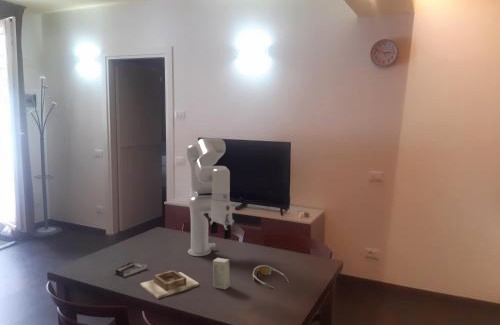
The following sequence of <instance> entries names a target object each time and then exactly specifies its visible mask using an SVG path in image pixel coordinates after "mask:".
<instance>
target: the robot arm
mask: <svg viewBox="0 0 500 325" xmlns="http://www.w3.org/2000/svg"><path fill="white" fill-rule="evenodd" d="M226 146H227V145H226V142H225V140H223V138H220V137H218V138H216V137H214V138H213V137H212V138H210V137H209V138H208V137H205V138H200V139H199V140H198V141H197V142H196V143H194V144H190V145H188V146H187V148H186V157H187V160H188V163H189V166H190V175H191V176H190V177H191V179H190V180H191V182H190V183H191V184H190V185H191V191H192V193H194V194H208V195H195V196H192V197H191V198H190V199H189V200H188V207H189V212H190V213H189V214H190V215H189V216H190V248H189V249H188V250H187V254H188V255H190V256H193V257H194V256H195V257H203V256H208V255H210V254H211V253H212V249H211V248H214V247H216V243H215V242H212V243H211V242H209V224H210V235H211V234H212V235H214V234H217V233H218V229H219V228H218V224H220V225H223V227H224V229H223V239H224V240H228V239H231V237H232V236H231V235H232V230H233V227H234V225H235V224H234V223H235V220H234V219H233V208H232V202H231V200H230V199H231V198H230V195H231V194H230V192H231V188H230V185H231V183H230V182H231V179H230V178H231V172H230V169H229V168H228V167H227V166H225V165H216V164H217V163H218V161H219V160H220V159H221V158H222V157H223V156H224V154H225V153H226ZM209 194H211V195H209ZM205 214H208V217H206V215H205Z"/></svg>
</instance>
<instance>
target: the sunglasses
mask: <svg viewBox="0 0 500 325" xmlns="http://www.w3.org/2000/svg"><path fill="white" fill-rule="evenodd" d="M272 271H273V272H276V273H279V274H280V275H282V276H283V277H284V278H285V280H286V282H287V281H288V282H289V280H288V278H287V277H286V275H285V274H284V273H282V272H281V271H279V270H277V269H276V268H274V267H271V266H269V265H265V264H262V265H257V266H256V267H254V268H253V271H252V281H253V282H255V280H256V281H258V282H260V283H261V284H263V285H265V286H266V287H269V288H270V289H272V288H274V287H273V286H272V285H269V284H268V283H266V282H263V281H262V280H260V279H259V278H258V277H259V276H262V275H263V274H264V275H272V274H271V273H272ZM254 278H255V279H254Z"/></svg>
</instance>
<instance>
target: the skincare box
mask: <svg viewBox="0 0 500 325" xmlns="http://www.w3.org/2000/svg"><path fill="white" fill-rule="evenodd" d="M230 272H231V271H230V259H228V258H222V257H216V258H215V259H213V260H212V279H213V280H212V282H213V283H212V284H213V285H212V286H213V288H215V289H220V290H227V289H229V287H230V285H231V281H230Z"/></svg>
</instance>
